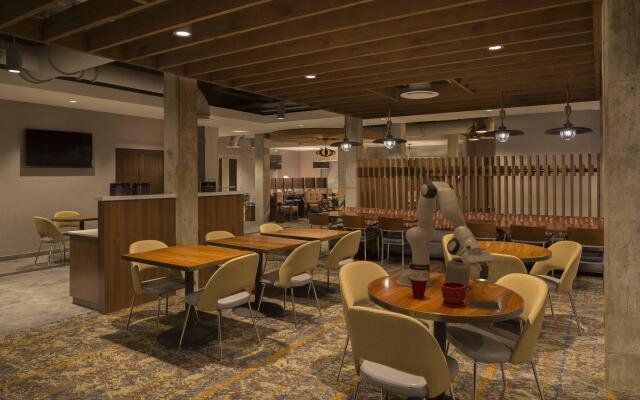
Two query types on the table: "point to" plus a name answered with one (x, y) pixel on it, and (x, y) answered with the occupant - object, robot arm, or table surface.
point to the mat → (484, 305)
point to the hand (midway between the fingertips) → (484, 270)
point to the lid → (484, 276)
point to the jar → (457, 272)
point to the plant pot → (453, 294)
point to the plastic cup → (418, 286)
